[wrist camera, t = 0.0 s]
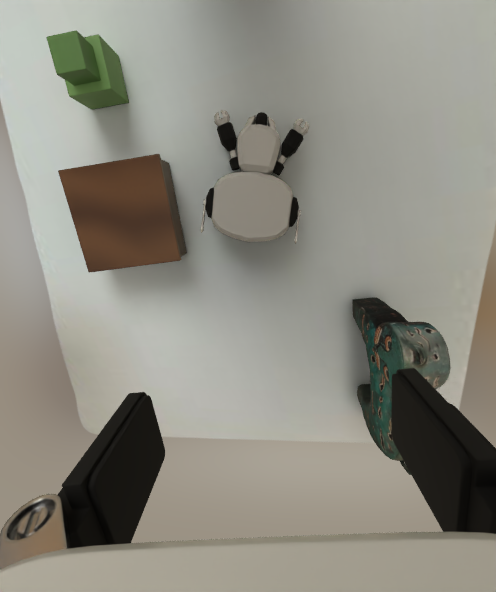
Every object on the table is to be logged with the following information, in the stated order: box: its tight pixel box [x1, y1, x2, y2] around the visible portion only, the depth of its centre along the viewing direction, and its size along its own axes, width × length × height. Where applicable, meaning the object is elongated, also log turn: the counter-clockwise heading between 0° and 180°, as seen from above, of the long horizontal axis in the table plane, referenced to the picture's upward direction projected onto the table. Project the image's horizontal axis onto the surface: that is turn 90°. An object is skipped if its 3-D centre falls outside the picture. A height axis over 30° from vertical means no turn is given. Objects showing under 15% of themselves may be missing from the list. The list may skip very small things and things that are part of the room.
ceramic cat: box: [353, 298, 450, 475], centre depth 34 cm, size 20×6×20 cm, turn 7°
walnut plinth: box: [58, 154, 187, 272], centre depth 38 cm, size 13×13×4 cm
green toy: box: [47, 31, 129, 109], centre depth 32 cm, size 5×5×7 cm
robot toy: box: [201, 110, 309, 244], centre depth 36 cm, size 12×4×15 cm
